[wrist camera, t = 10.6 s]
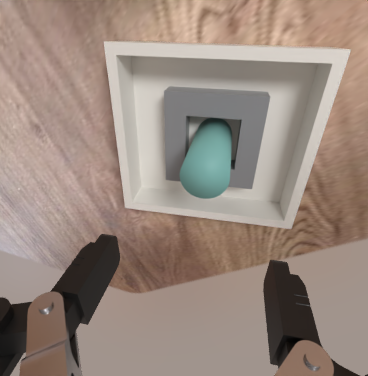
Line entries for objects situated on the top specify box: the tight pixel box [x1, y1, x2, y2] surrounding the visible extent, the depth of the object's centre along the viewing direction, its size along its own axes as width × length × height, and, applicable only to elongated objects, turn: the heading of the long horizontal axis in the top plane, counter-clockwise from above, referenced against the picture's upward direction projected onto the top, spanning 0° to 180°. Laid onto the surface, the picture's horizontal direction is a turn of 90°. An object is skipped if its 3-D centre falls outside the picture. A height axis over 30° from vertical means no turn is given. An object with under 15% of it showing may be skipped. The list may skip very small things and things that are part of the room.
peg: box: [180, 118, 232, 199], centre depth 24 cm, size 4×4×10 cm
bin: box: [104, 41, 351, 229], centre depth 27 cm, size 20×18×4 cm
